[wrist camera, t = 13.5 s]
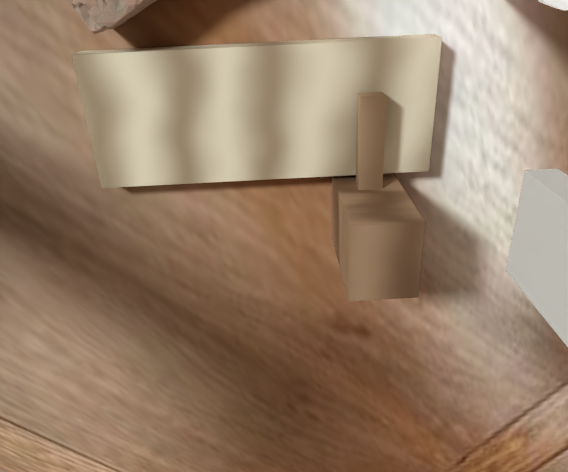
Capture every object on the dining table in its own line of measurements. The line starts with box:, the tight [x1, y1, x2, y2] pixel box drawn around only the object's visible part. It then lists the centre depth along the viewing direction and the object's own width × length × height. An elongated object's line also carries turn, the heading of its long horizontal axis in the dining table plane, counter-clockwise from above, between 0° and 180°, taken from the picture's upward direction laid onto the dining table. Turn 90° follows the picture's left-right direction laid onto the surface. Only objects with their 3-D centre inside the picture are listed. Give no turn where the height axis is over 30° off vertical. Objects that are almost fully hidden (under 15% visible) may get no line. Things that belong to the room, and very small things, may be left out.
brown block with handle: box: [332, 92, 426, 301], centre depth 37 cm, size 5×13×10 cm, turn 3°
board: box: [71, 34, 442, 188], centre depth 39 cm, size 26×10×2 cm, turn 92°
